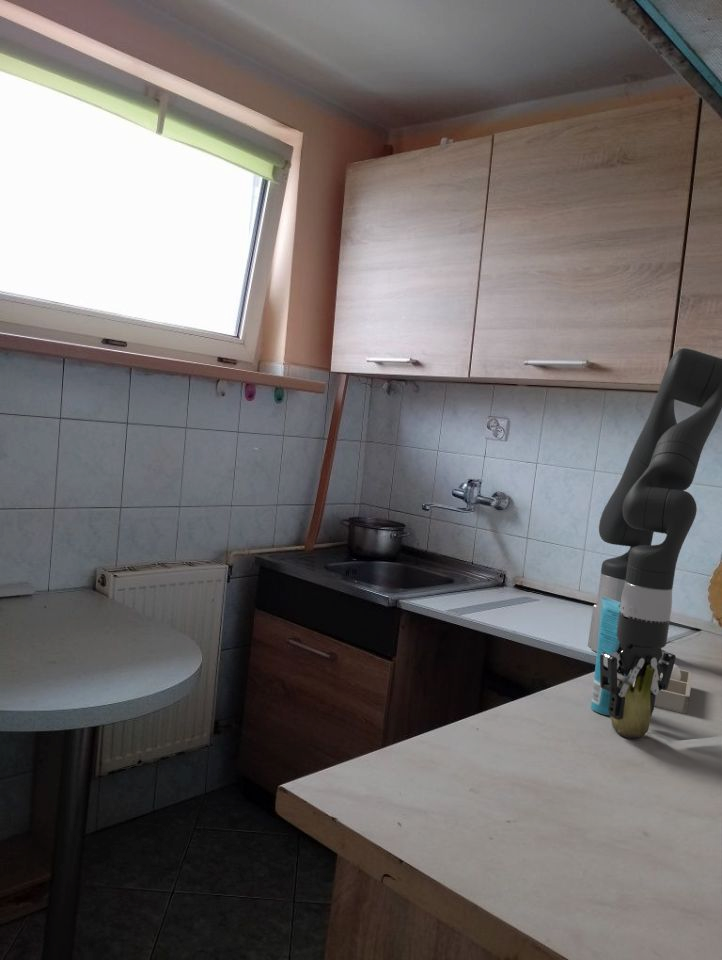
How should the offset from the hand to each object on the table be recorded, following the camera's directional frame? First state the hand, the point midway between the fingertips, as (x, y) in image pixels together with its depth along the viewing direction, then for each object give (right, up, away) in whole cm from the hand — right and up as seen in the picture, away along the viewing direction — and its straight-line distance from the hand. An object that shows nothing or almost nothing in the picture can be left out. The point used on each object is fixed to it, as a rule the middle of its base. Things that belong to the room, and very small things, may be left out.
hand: (630, 715), depth 121 cm
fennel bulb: (0, -3, 0) cm, 3 cm away
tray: (+13, -3, +20) cm, 24 cm away
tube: (-1, -2, +10) cm, 10 cm away
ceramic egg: (+15, -2, +23) cm, 27 cm away
